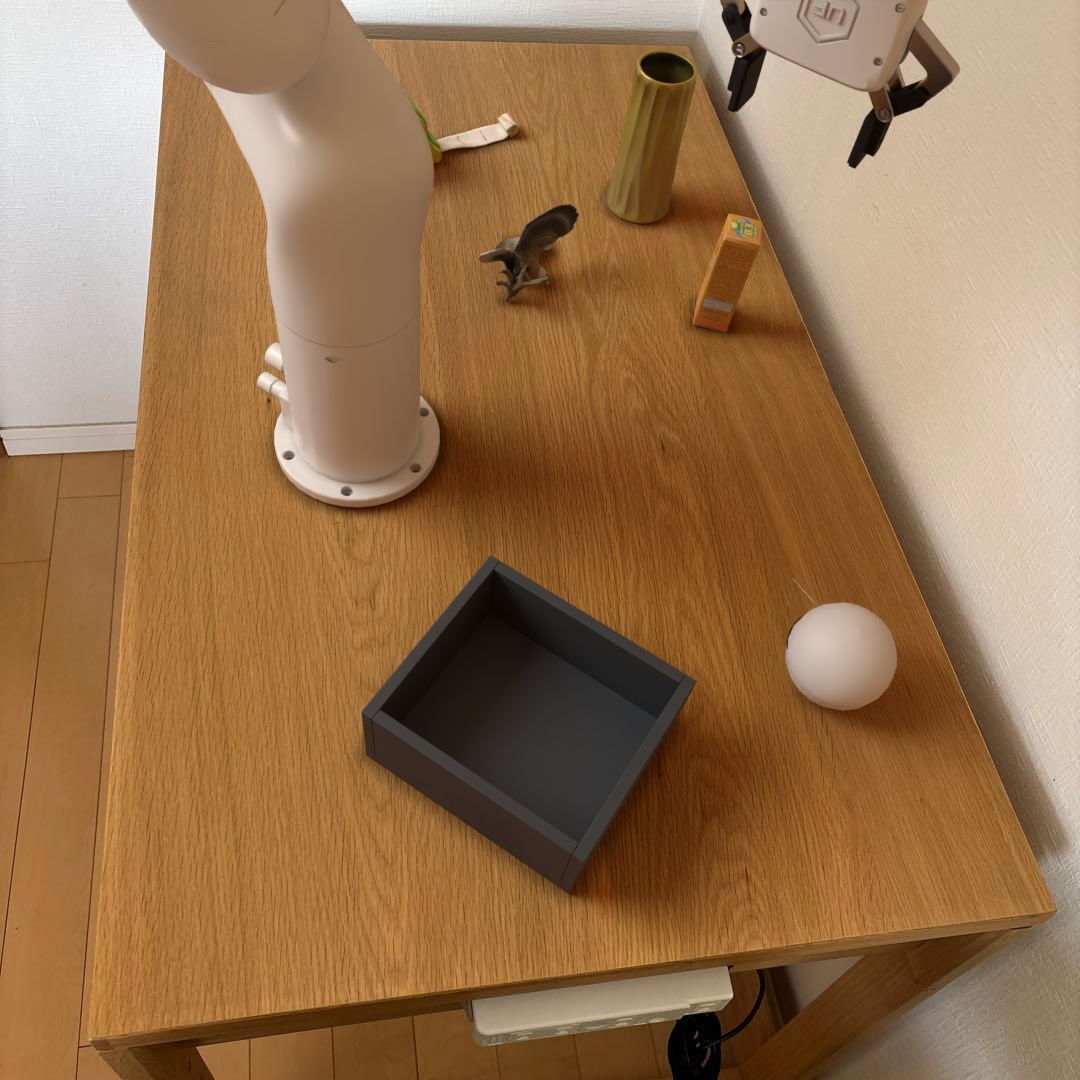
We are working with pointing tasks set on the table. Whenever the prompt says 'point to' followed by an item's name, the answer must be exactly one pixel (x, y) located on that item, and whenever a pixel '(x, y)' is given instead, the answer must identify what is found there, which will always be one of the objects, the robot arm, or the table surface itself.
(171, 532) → the table surface
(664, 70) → the vase
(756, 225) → the supplement box
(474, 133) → the toy measuring tape
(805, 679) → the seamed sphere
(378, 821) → the table surface
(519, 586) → the bin
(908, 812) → the table surface
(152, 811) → the table surface
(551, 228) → the eagle figurine
